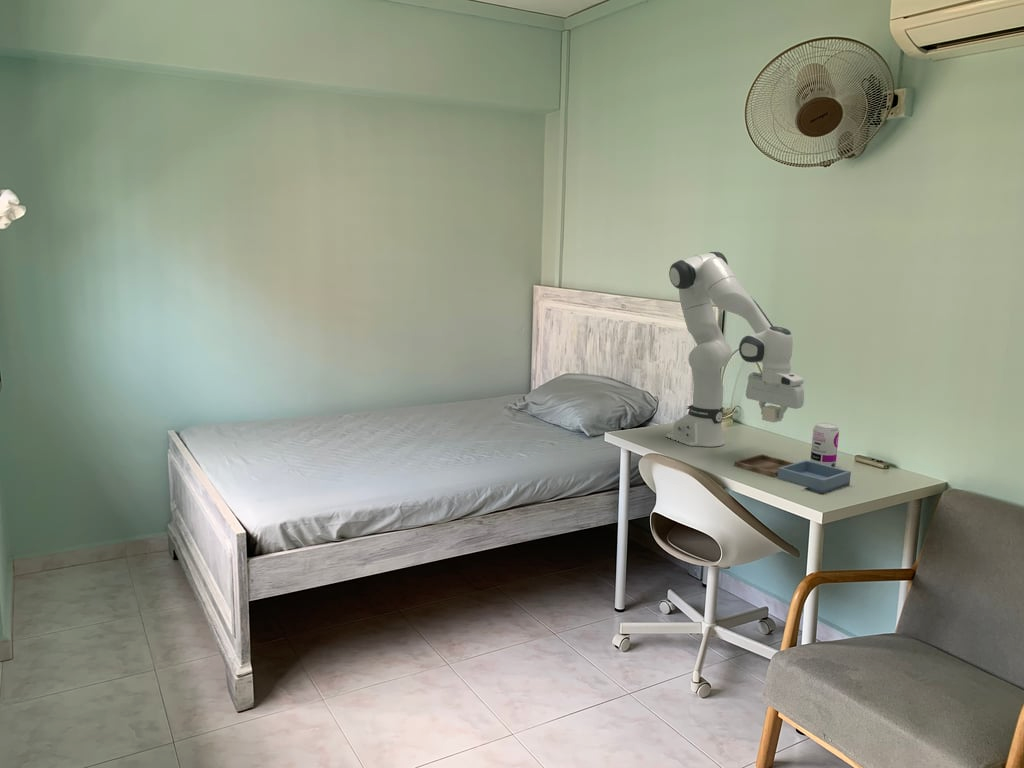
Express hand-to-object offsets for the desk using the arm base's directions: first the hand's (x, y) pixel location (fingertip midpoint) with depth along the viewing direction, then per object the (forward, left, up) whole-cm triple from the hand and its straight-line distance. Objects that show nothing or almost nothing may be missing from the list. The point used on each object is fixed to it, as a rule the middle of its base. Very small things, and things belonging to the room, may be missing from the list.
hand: (772, 416), depth 267 cm
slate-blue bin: (+17, 0, -19) cm, 25 cm away
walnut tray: (0, 0, -19) cm, 19 cm away
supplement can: (+9, +19, -19) cm, 28 cm away
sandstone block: (0, 0, -1) cm, 1 cm away
